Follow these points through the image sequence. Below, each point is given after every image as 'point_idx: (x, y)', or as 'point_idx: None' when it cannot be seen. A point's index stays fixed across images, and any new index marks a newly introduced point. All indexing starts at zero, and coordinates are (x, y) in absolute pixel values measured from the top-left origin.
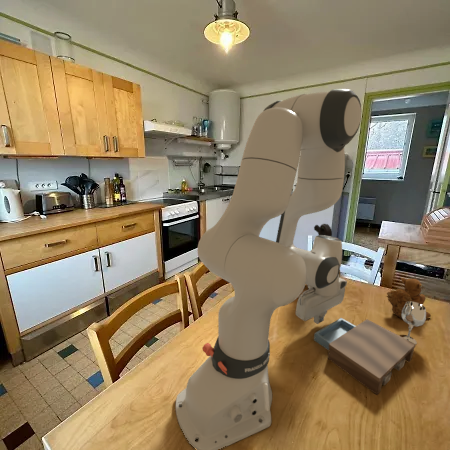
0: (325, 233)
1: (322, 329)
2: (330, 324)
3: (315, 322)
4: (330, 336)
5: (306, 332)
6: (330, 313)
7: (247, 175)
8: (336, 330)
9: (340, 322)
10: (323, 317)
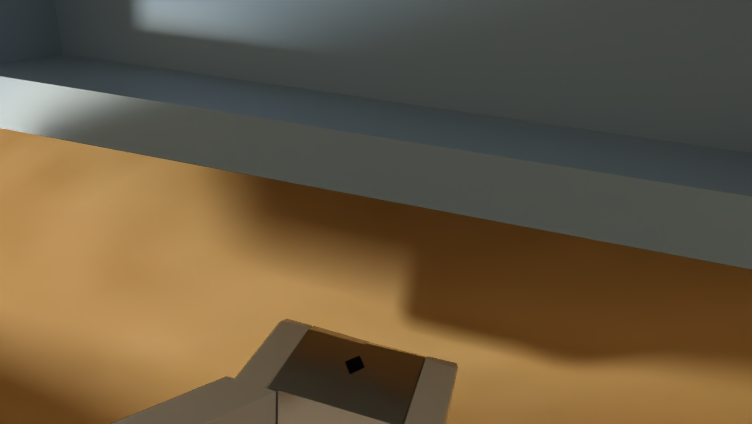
0: None
1: (654, 229)
2: (298, 170)
3: (449, 407)
4: (547, 15)
5: (725, 395)
6: (10, 287)
7: None
8: (264, 29)
9: (39, 68)
10: (258, 380)
